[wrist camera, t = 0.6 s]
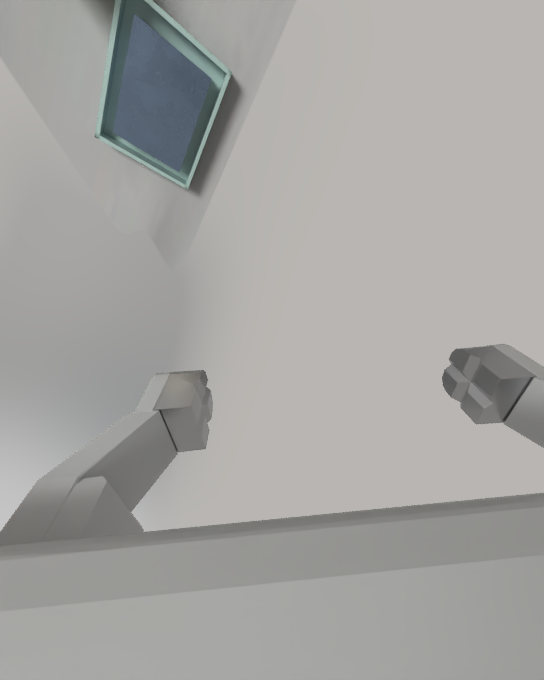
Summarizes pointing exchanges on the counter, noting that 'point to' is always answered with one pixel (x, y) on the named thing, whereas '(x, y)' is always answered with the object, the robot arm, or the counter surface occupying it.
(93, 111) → the counter surface
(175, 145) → the block
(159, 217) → the counter surface
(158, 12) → the green tray
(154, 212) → the counter surface
